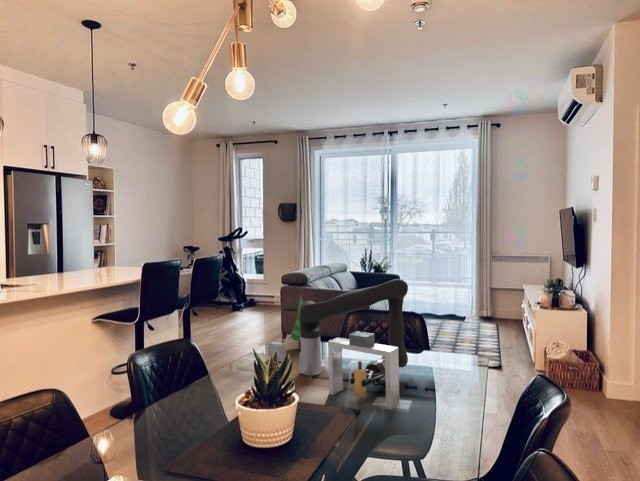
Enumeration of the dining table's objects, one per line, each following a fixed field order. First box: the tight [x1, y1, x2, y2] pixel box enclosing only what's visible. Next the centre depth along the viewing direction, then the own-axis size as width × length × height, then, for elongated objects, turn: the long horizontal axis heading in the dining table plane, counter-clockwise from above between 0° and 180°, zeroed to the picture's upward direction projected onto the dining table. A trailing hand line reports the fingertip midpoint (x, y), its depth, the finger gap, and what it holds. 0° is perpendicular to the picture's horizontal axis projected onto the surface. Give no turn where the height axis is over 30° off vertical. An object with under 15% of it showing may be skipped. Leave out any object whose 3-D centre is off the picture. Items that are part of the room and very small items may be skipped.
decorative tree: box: [289, 296, 304, 351], centre depth 249 cm, size 14×16×30 cm
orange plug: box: [353, 360, 368, 399], centre depth 177 cm, size 5×5×14 cm
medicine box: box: [267, 341, 286, 363], centre depth 231 cm, size 8×4×9 cm, turn 58°
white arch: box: [327, 330, 400, 411], centre depth 179 cm, size 28×7×26 cm, turn 54°
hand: (356, 382), depth 175 cm, fingers closed on orange plug, 4 cm apart
